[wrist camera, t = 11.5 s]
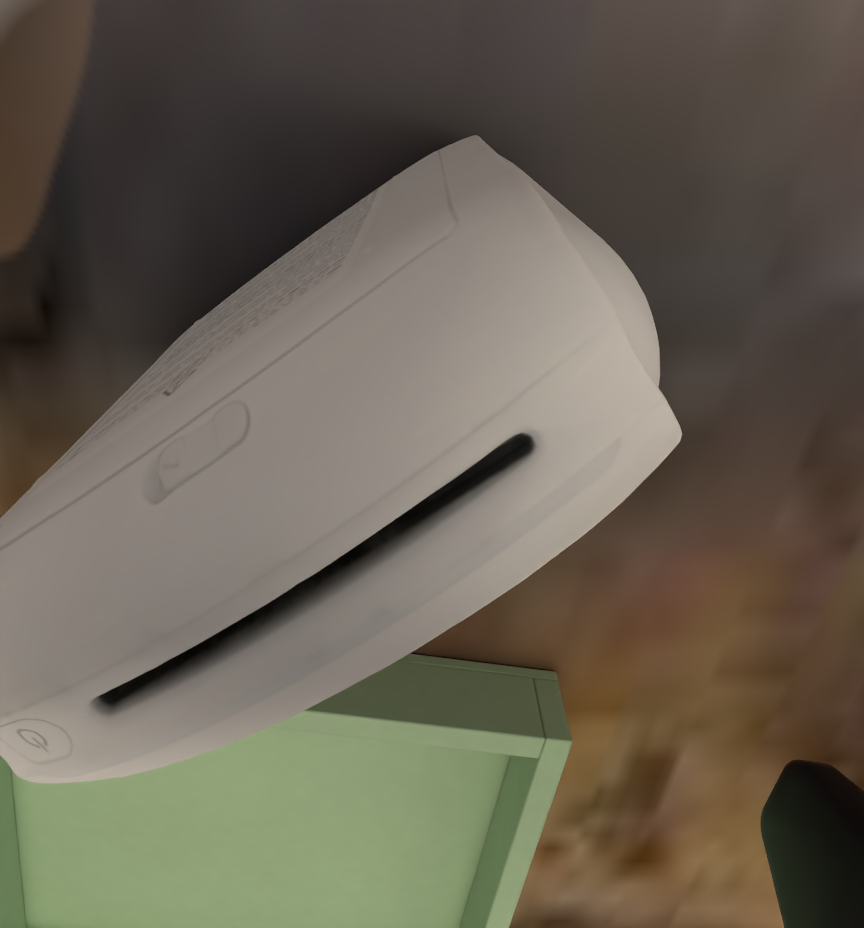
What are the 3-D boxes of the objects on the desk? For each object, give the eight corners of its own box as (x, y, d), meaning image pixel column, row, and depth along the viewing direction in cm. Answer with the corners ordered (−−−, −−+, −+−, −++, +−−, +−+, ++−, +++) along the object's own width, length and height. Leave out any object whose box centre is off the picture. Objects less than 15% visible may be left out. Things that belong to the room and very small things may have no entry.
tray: (556, 671, 24) (573, 742, 21) (463, 968, 30) (467, 1050, 28) (-26, 598, 22) (-86, 666, 19) (11, 928, 29) (-29, 1011, 26)
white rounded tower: (249, 481, 20) (52, 935, 9) (138, 356, 19) (-258, 726, 8) (579, 265, 18) (835, 533, 7) (483, 102, 16) (620, 111, 5)
